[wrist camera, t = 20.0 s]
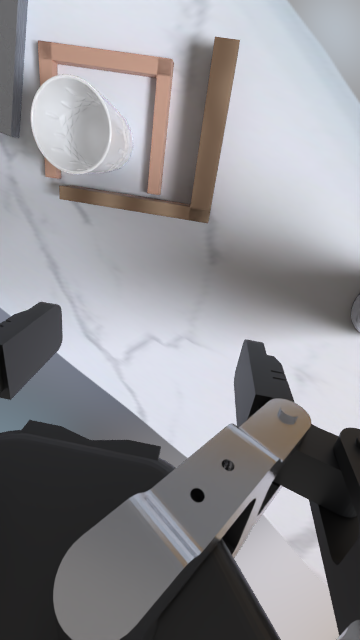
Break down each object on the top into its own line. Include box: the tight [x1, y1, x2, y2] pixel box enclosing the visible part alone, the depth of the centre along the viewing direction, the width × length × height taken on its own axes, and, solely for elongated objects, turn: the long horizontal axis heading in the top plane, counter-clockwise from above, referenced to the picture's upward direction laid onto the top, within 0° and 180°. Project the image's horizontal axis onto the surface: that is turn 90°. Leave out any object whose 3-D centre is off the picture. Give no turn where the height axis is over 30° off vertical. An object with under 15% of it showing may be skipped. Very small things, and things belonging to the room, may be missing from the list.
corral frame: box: [38, 41, 174, 195], centre depth 35 cm, size 15×14×1 cm
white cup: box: [31, 74, 133, 174], centre depth 32 cm, size 8×8×10 cm
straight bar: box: [0, 0, 28, 138], centre depth 33 cm, size 16×2×2 cm, turn 162°
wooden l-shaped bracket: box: [59, 37, 240, 223], centre depth 34 cm, size 19×17×4 cm
